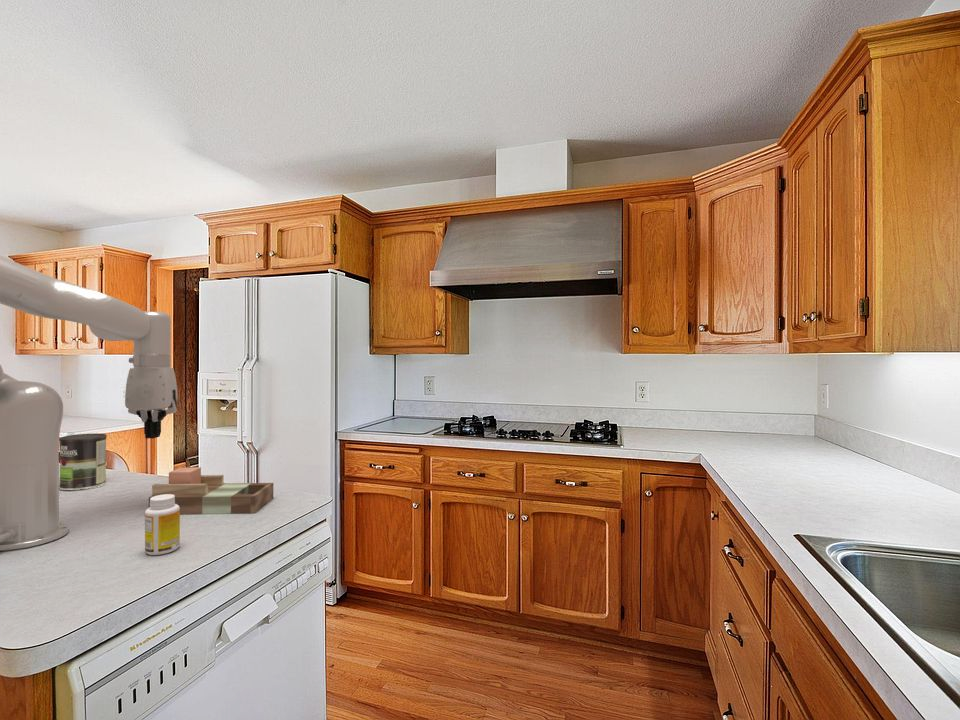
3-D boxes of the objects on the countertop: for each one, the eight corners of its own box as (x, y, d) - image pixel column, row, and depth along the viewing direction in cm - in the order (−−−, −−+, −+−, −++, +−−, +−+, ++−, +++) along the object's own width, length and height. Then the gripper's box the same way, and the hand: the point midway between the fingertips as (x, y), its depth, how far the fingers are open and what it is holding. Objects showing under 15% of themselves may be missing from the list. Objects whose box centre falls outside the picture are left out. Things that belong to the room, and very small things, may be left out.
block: (190, 492, 115) (190, 472, 115) (168, 493, 115) (168, 472, 115) (200, 487, 120) (200, 467, 120) (180, 487, 120) (180, 467, 120)
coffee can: (76, 492, 129) (76, 440, 129) (49, 489, 132) (49, 438, 132) (115, 483, 139) (115, 434, 138) (90, 480, 142) (90, 432, 141)
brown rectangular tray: (255, 513, 113) (255, 485, 113) (148, 514, 112) (148, 486, 111) (273, 498, 125) (273, 473, 125) (177, 499, 123) (177, 474, 123)
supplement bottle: (185, 544, 95) (185, 492, 95) (170, 555, 89) (170, 501, 89) (155, 545, 94) (155, 493, 94) (138, 556, 89) (138, 501, 88)
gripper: (109, 362, 113) (109, 440, 113) (175, 362, 114) (175, 440, 114) (130, 362, 120) (130, 435, 120) (192, 362, 121) (192, 434, 121)
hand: (152, 437), depth 117 cm, fingers closed
